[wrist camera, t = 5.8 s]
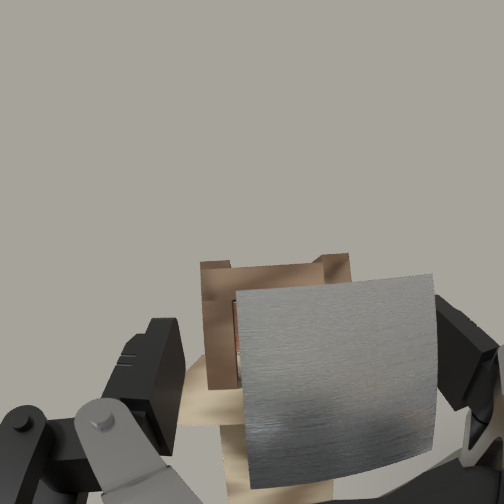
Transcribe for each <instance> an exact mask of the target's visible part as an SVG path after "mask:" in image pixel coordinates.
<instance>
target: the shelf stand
mask: <svg viewBox="0 0 504 504" xmlns="http://www.w3.org/2000/svg"><path fill="white" fill-rule="evenodd" d="M200 270H201V294H202V313H203V330H204V345H205V355H202V356H201V357H200V358H199V359H198V360H197V361H196V362H195V363H194V364H193V365H192V366H191V367H190V368H189V369H188V370H187V371H186V372H185V380H184V385H183V391H182V397H181V403H180V409H179V415H178V421H177V425H220V434H221V444H222V453H223V462H224V470H225V478H226V486H227V493H228V500H229V504H313V503H319V502H324V501H330V500H332V498H333V479H331V480H325V481H320V482H314V483H308V484H301V485H294V486H286V487H277V488H266V489H252V490H251V488H250V477H249V466H248V455H247V443H246V431H245V418H244V406H243V392H242V379H241V365H240V354H237V350H236V335H235V319H234V303H233V302H236V291H240V290H257V289H272V288H286V287H300V286H313V285H325V284H337V283H348V282H352V281H351V272H350V263H349V254H348V253H345V254H344V253H343V254H327V255H321V256H320V257H318V258H317V259H316V260H314V261H313V262H312V263H305V264H290V265H274V266H258V267H240V268H231V264H230V260H226V261H207V262H200Z"/></svg>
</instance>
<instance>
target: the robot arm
mask: <svg viewBox="0 0 504 504" xmlns="http://www.w3.org/2000/svg"><path fill="white" fill-rule="evenodd" d="M435 307H436V322H437V349H438V374H437V387H438V389H439V390H440V392H441V393H442V394H443V396H444V397H445V398H446V400H447V401H448V403H449V404H450V405H451V407H452V408H453V409H454V411H457V410H460V409H462V408H464V407H467V406H469V408H470V410H469V411H468V413H467V416H466V422H465V432H464V440H463V447H462V454H461V459H460V461H459V459H458V458H456V459H454V460H452V461H450V462H447V463H445V464H443V465H441V466H438V467H436V468H434V469H431V470H429V471H427V472H424V473H422V474H421V475H419V476H418V477H416V478H415V479H413V480H412V481H410V482H409V483H407V484H406V485H404V486H403V487H401V488H400V489H398V490H396V491H395V492H393V493H391V494H390V495H388V496H386V497H383V498H373V499H358V500H330V501H324V502H319V503H313V504H504V345H502V346H499V345H498V344H497V343H496V342H495V341H494V340H493V339H492V338H490V336H488V335H487V334H486V333H485V332H484V331H483V330H482V329H481V328H479V327H477V325H476V324H475V323H474V322H473V321H470V319H469V318H468V317H467V316H466V315H465V314H463V313H462V312H461V311H459V310H457V309H455V308H453V307H452V306H451V305H450V304H449V303H448V302H446V301H445V300H444V299H443V298H441V297H440V296H439V295H435ZM185 371H186V368H185V357H184V352H183V347H182V342H181V337H180V331H179V326H178V322H177V319H176V318H152V319H151V321H150V323H149V326H148V328H147V330H146V333H145V334H136V335H135V336H134V337H133V338H131V339H130V340H129V341H128V342H127V343H126V345H125V347H124V349H123V351H122V353H121V356H120V357H119V359H118V362H117V365H116V366H115V368H114V370H113V372H112V374H111V376H110V379H109V381H108V383H107V385H106V387H105V390H104V392H103V394H102V397H101V398H100V399H95V400H92V401H90V402H88V403H86V404H85V405H83V406H82V407H81V408H80V409H79V410H78V412H77V414H76V416H75V418H67V419H57V420H47V418H46V417H45V415H44V414H43V412H42V411H41V410H40V409H39V408H37V407H35V406H31V405H24V406H19V407H17V408H15V409H13V410H11V411H10V412H9V413H8V414H7V415H6V416H5V417H4V419H3V421H2V422H1V424H0V504H86V502H87V498H88V493H89V492H97V491H103V494H101V498H102V501H103V503H104V504H203V503H202V502H201V500H200V499H199V498H198V497H197V496H196V495H195V494H194V492H193V491H192V490H191V489H190V488H189V487H188V486H187V484H186V483H185V482H184V481H183V479H182V478H181V477H180V476H179V475H178V473H177V472H176V471H175V470H174V469H173V468H172V467H171V466H170V465H169V466H167V465H166V463H165V462H164V461H163V460H162V458H161V457H160V456H172V453H173V447H174V440H175V434H176V427H177V421H178V415H179V409H180V403H181V397H182V391H183V385H184V380H185ZM39 480H40V481H39ZM38 483H39V484H38Z"/></svg>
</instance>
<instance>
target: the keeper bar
mask: <svg viewBox="0 0 504 504" xmlns="http://www.w3.org/2000/svg"><path fill="white" fill-rule="evenodd" d="M234 319H235V335H236V350H237V352H240V365H241V379H242V392H243V406H244V418H245V431H246V443H247V455H248V466H249V477H250V488H251V490H252V489H266V488H277V487H286V486H294V485H301V484H308V483H314V482H320V481H325V480H331V479H335V478H340V477H345V476H349V475H353V474H358V473H362V472H365V471H369V470H373V469H376V468H380V467H383V466H387V465H390V464H393V463H396V462H399V461H402V460H405V459H408V458H411V457H414V456H417V455H419V454H422V453H425V452H427V451H430V450H432V444H433V435H434V426H435V415H436V400H437V374H438V349H437V322H436V307H435V295H434V285H433V276H432V274H425V275H417V276H408V277H399V278H390V279H379V280H369V281H359V282H348V283H337V284H325V285H313V286H300V287H286V288H272V289H257V290H240V291H236V303H234Z"/></svg>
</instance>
